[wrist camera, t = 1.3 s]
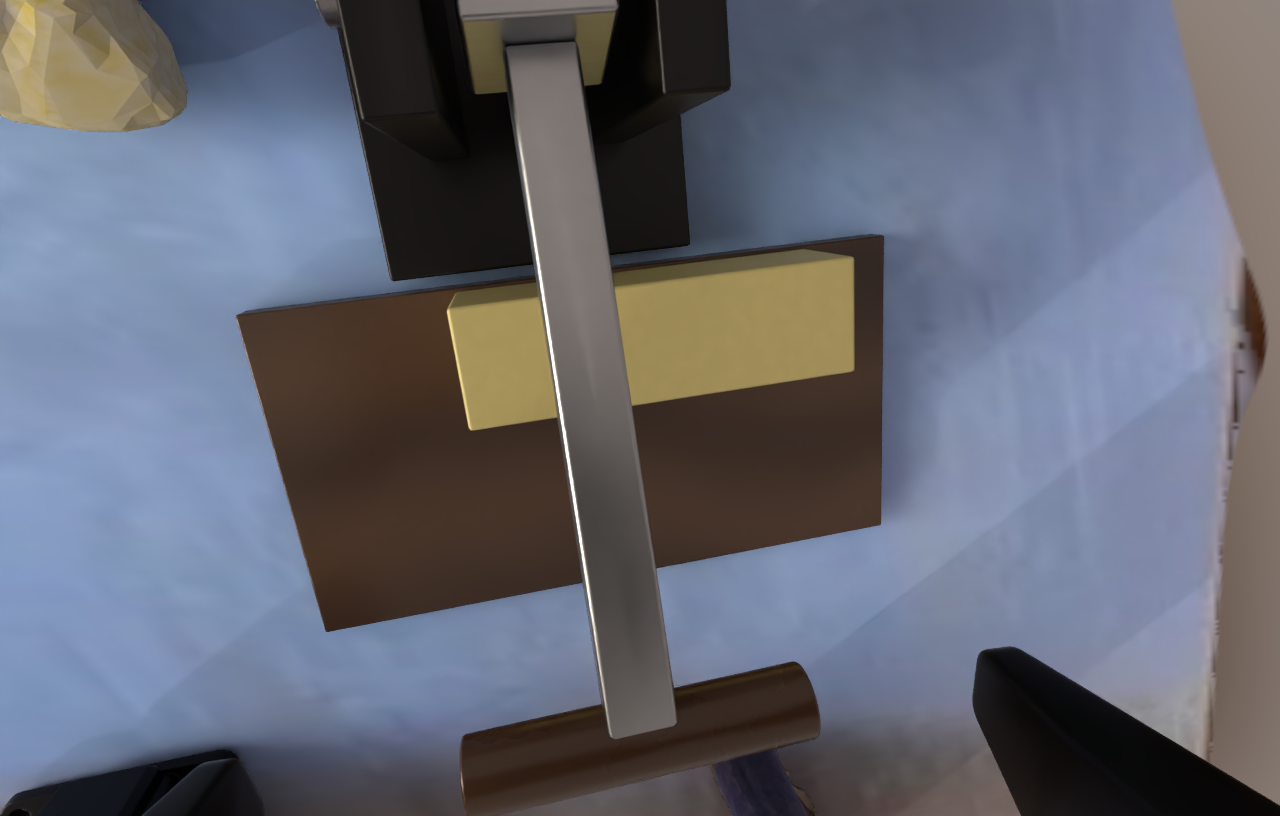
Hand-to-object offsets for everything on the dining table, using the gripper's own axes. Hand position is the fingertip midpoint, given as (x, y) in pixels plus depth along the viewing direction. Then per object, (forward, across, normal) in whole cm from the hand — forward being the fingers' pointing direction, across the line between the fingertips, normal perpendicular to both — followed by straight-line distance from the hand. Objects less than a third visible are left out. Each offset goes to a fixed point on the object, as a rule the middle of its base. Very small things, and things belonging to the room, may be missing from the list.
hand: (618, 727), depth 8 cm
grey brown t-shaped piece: (+5, 0, -3) cm, 6 cm away
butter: (+13, -1, -1) cm, 13 cm away
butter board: (+13, 0, +2) cm, 13 cm away
